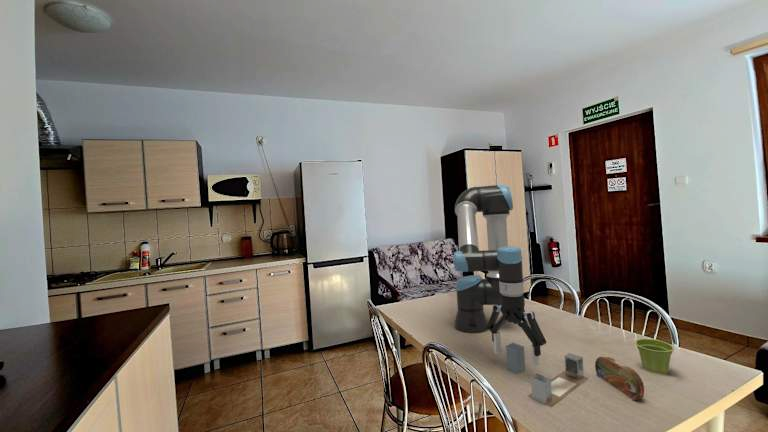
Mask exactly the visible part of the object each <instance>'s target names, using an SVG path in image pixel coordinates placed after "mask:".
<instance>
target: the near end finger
mask: <svg viewBox="0 0 768 432" xmlns="http://www.w3.org/2000/svg"><path fill="white" fill-rule="evenodd" d="M530 384H531V393H532V398H531V399H533V400H534V401H536V402H539V403H541V402H542V403H541V404H543V403H544V405H545V404H546V406H548V405H547V404H548V403H549V402H551V401H552V391H551V378H549V377H547V376H544V375H542V374H539V373H535V374H533V375H532V376H531V377H530Z"/></svg>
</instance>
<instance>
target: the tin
mask: <svg viewBox="0 0 768 432" xmlns="http://www.w3.org/2000/svg"><path fill="white" fill-rule="evenodd" d="M594 368H595V369H594V370H595V373H596V375H597V377H598V378H599V379H602V380H603V381H605V382H606V383H607V384H609V385H610V386H612V387H614V388H615V389H616V390H618V391H619V392H621V393H622V394H624V395H626V396H627V397H628V398H630V399H631V401H638V400H642V399H643V397H644V395H645V386H644V381H643V379H642V378H641V376H640V374H638V372H636V371H635V370H634V369H632V368H631V367H629V366H627V365H626V364H624V363H622V362H620V361H619V360H616V359H614V358H613V357H610V356H599V357H597V359H596V360H595V365H594Z"/></svg>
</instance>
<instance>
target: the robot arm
mask: <svg viewBox="0 0 768 432" xmlns="http://www.w3.org/2000/svg"><path fill="white" fill-rule="evenodd" d="M512 197H513V196H512V192H511V190H510V188H509V186H508V185H506V184H494V185H493V184H492V185H485V186H473V187H469V188H467V189H466V190H464V191H463V192H461V194H459V195H458V198H457V199H456V202H455V204H454V213H455V215H456V216H457V234H458V237H457V238H458V250H457V251H456V250H455V251H454V252H453V264H454V265H453V267H454V270H455V271H456V272H462V273H463V272H464V273H467V272H470V273H471V272H487V273H486V276H485V277H486V278H482V276H481V275H477V274H476V275H475V274H474V275H465V276H463V277H460V278H458V279H457V280H456V285H455V286H456V287H455V291H456V303H457V305H456V307H457V311H456V316H455V320H454V328H455V329H456V330H458V331H460V332H463V333H470V334H475V333H476V334H477V333H482V332H485V331H490V333H491V341H492V342H493V346H494V347H493V348H494V353H495V354H498V353H500V352H501V351H502V342H501V339H502V338H501V332H500V331H499V330H500V329H501V328H502V327H503V326H504V324H505V323H506V322H508V323H513V324H515V325H516V324H517V326H519V327H520V328H521V330H522V331H523V333H524V334H525V335H526V336H527V338H528V340H529V341H530V342H531V344H530V356H531V357H530V358H531V367H533V368H535V367H537V366H538V365H540V361H539V359H540V358H539V357H540V356H541V346H542V347H543V346H544V345H546V344H547V340H546V338H545V336H544V334H543V331H542V329H541V327H540V326H539V324H538V321H537V319H536V314H535V312H534V311H530V312H527V311H525V305H526V302H525V301H526V300H525V294H524V293H525V287H524V286H525V285H524V274H523V272H524V271H523V255H522V249H521V247H518V246H509V242H508V239H509V238H508V227H507V226H508V225H507V219H508V217H509V215H511V214H510V213H511V212H510V211H513V210H514V203H513V198H512ZM477 213H481V214H482V217H483V218H485V220H486V233H487V234H486V236H487V250H480V248H479V247H480V246H479V238H478V230H477V229H478V228H477V220H476V219H477V217H476V215H477ZM484 306H492V312H491V316H490V318H489V320H488V319H487V317H486V314H485V311H484ZM500 312H501V313H502V316H500V318H499V315H500ZM498 319H499V320H498ZM497 320H498V321H497Z"/></svg>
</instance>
